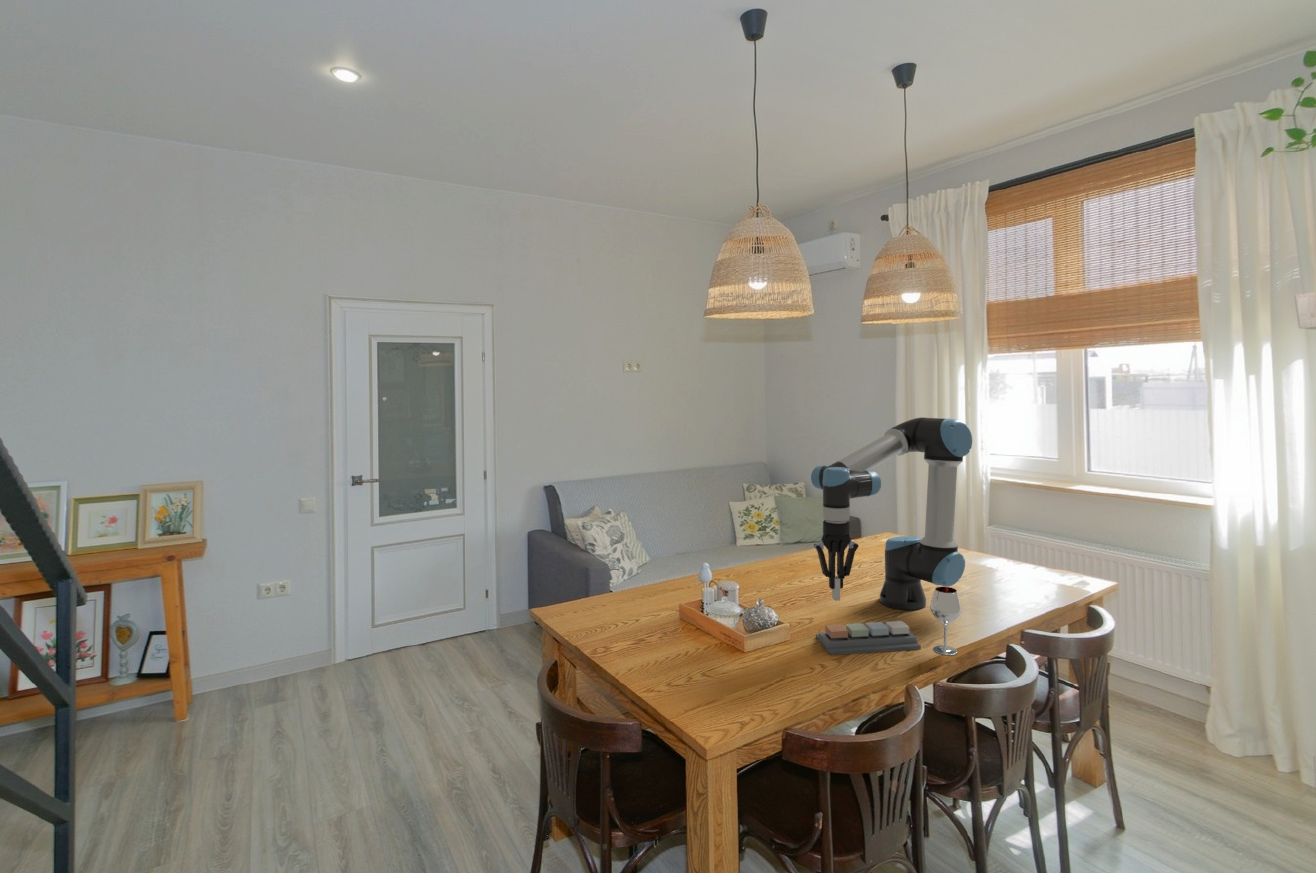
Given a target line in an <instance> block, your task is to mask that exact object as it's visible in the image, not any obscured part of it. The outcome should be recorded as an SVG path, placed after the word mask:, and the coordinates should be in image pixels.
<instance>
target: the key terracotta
mask: <svg viewBox="0 0 1316 873" xmlns="http://www.w3.org/2000/svg"><path fill="white" fill-rule="evenodd" d="M825 632H826V633H827V634H828V635H829V636H830V637H831V638H846V637H848V630H847V629H846V626H844V625H843V624H831V625H830V624H828V625H827V624H826V625H825Z"/></svg>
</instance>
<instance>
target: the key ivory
mask: <svg viewBox="0 0 1316 873" xmlns="http://www.w3.org/2000/svg"><path fill="white" fill-rule="evenodd" d="M885 625H886V626H887V627H888V628H889V632H890V633H892V634H909V631H910V626H909V625H907V623H905V622H904V621H903V620H894V621H893V620H891V621H885Z"/></svg>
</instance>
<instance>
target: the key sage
mask: <svg viewBox="0 0 1316 873" xmlns="http://www.w3.org/2000/svg"><path fill="white" fill-rule="evenodd" d="M845 628H846V629H847V630H848V634H849V635H850V636H851V637H862V636H868V629H867V628H866V625H864V623H863V622H861V623H845Z"/></svg>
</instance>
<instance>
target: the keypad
mask: <svg viewBox="0 0 1316 873" xmlns="http://www.w3.org/2000/svg"><path fill="white" fill-rule="evenodd" d="M815 639H817V641H818V642H819V643H820V644H821V645H822V647H824V648H823V649H825V650H826V651H827V653H828V654H829V655H830V656H836V655H852V654H866V653H883V652H896V651H897V652H899V651H909V650H910V651H912V650H913V651H914V650H921V649H922V645H921V644H919V643H918V637H917V636H916V635H915V634H914V633H912V632H911V631H910V630H909V634H892V633H890V632H889V635H877V636H872V635H871V634H870V633H869V632H868V636H862V637H851V636H850V635H849V634H848V637H846V638H831V637H830V636H829V635H828V634H827V633H826V631H823V632H818V633H816V634H815Z"/></svg>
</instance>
